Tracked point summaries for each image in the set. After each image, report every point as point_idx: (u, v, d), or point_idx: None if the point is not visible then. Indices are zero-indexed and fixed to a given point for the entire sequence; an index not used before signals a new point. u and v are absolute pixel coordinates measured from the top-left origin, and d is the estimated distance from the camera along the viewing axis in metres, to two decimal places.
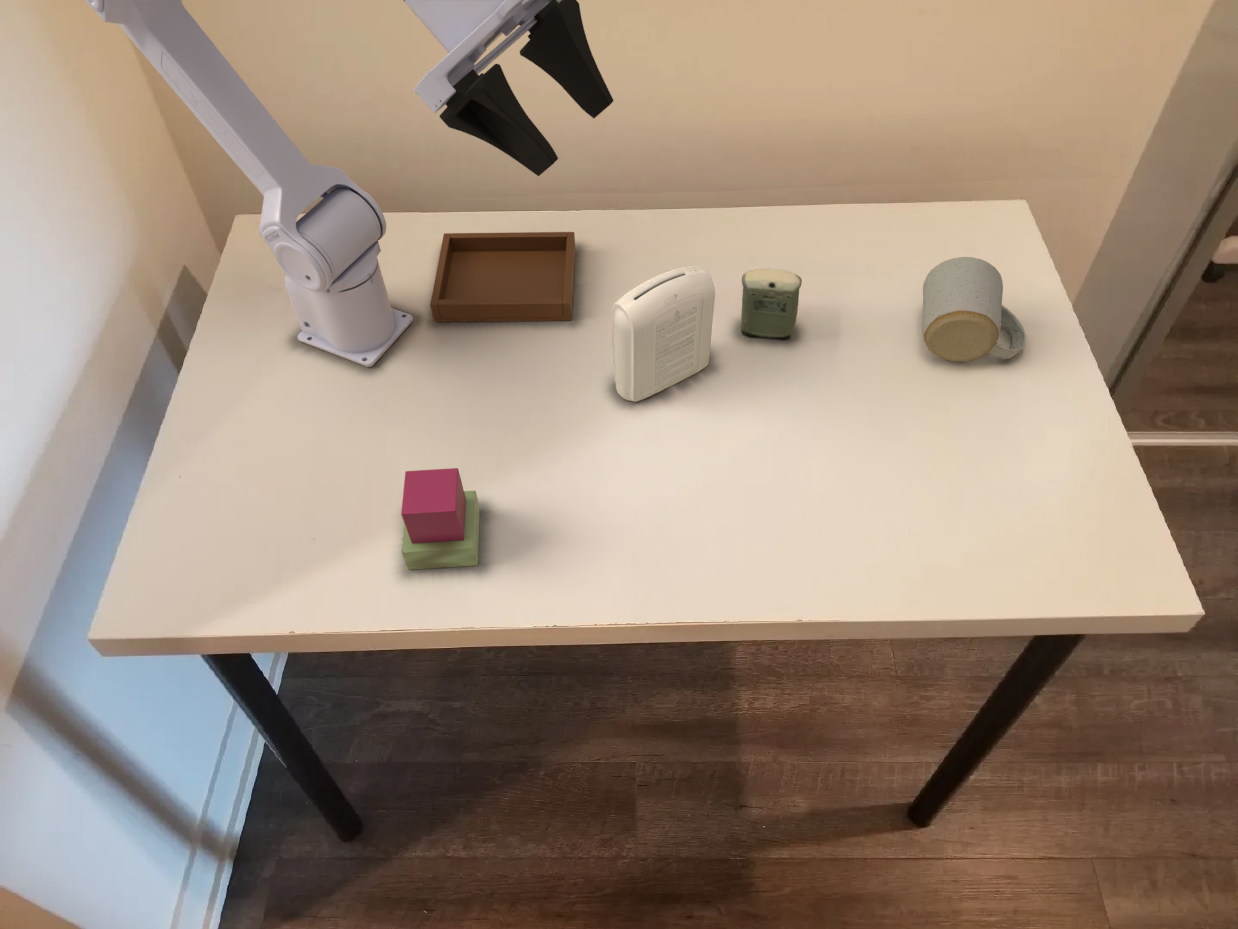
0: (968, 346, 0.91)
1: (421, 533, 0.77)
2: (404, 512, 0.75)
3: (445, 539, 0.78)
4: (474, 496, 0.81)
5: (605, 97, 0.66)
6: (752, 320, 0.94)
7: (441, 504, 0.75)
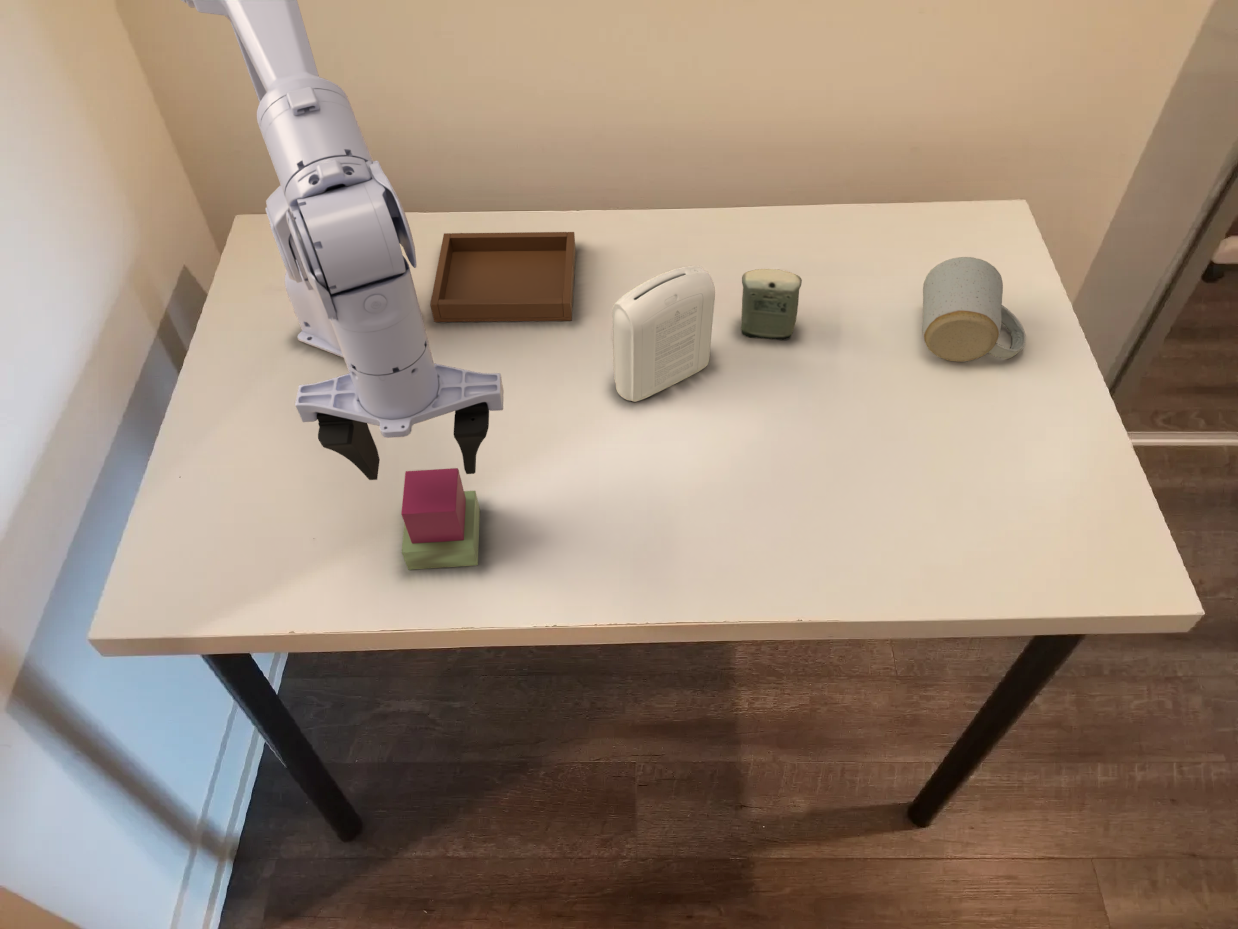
0: (969, 346, 0.91)
1: (421, 533, 0.77)
2: (404, 512, 0.75)
3: (445, 539, 0.78)
4: (474, 496, 0.81)
5: (465, 471, 0.73)
6: (752, 320, 0.94)
7: (441, 504, 0.75)
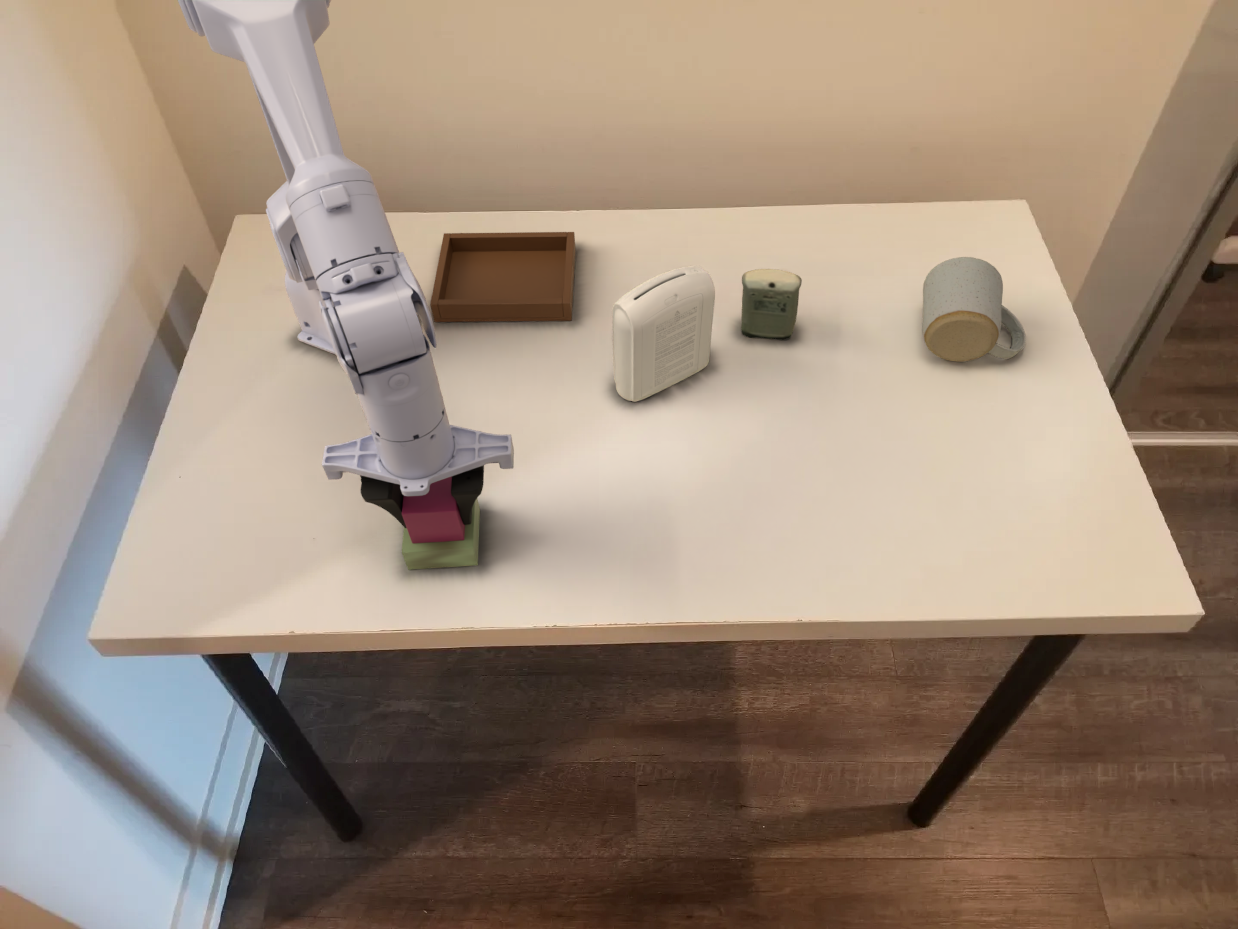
0: (969, 346, 0.91)
1: (421, 533, 0.77)
2: (404, 512, 0.75)
3: (445, 539, 0.78)
4: None
5: None
6: (752, 320, 0.94)
7: (441, 504, 0.75)
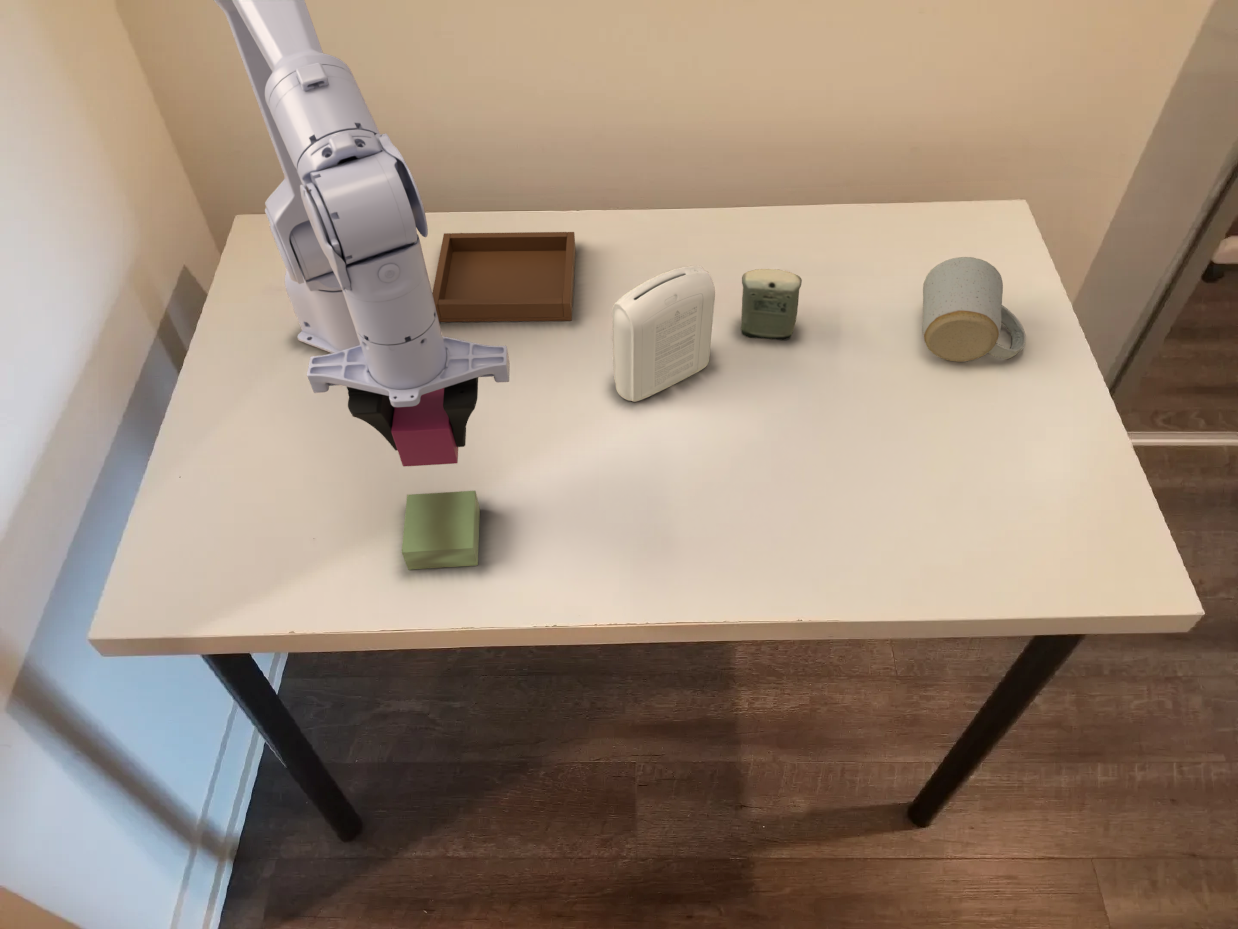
0: (969, 346, 0.91)
1: (412, 454, 0.74)
2: (394, 430, 0.71)
3: (438, 462, 0.74)
4: (474, 496, 0.81)
5: None
6: (752, 320, 0.94)
7: (433, 422, 0.72)
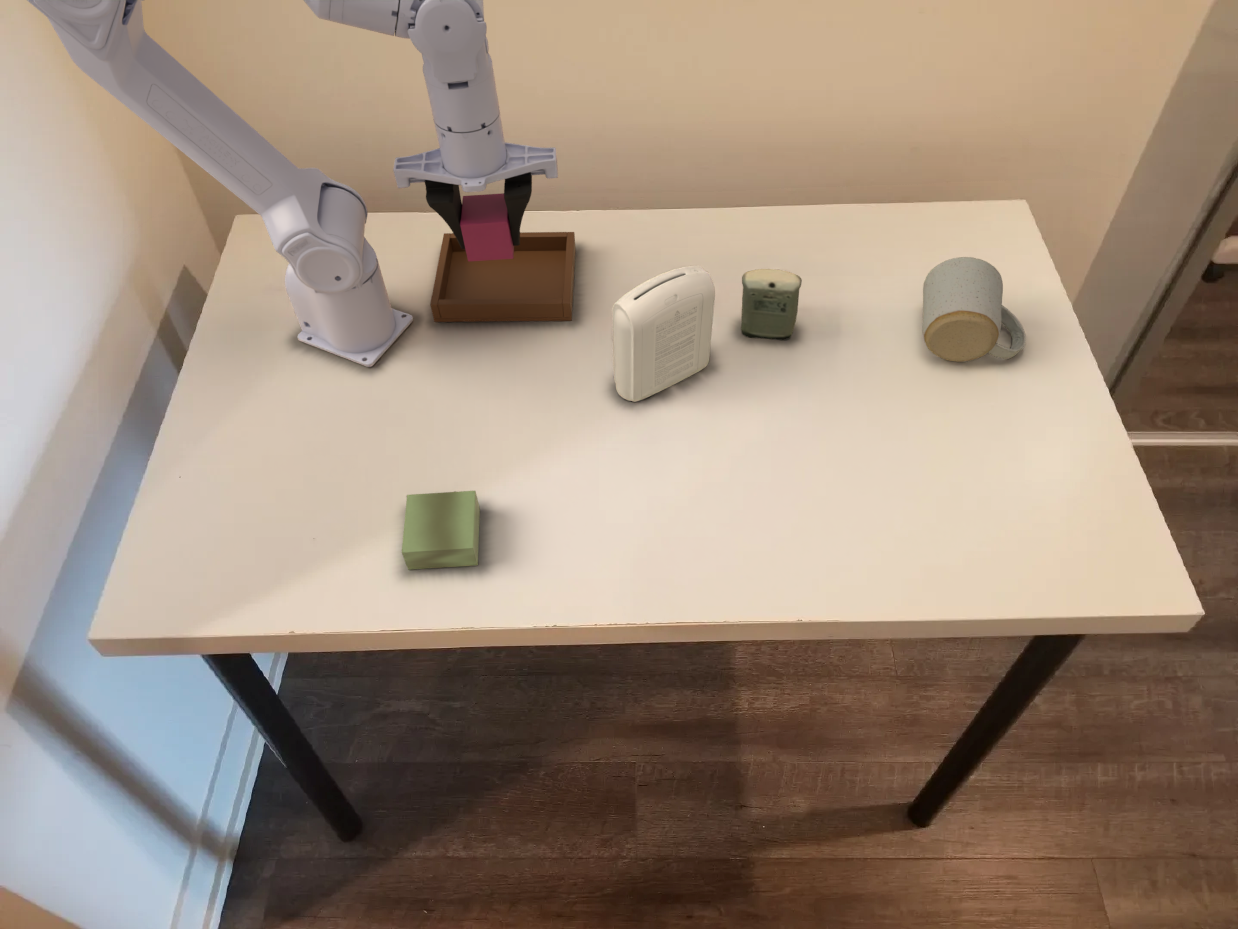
0: (969, 346, 0.91)
1: (476, 249, 0.89)
2: (462, 223, 0.86)
3: (497, 257, 0.89)
4: (474, 496, 0.81)
5: None
6: (752, 320, 0.94)
7: (494, 217, 0.87)
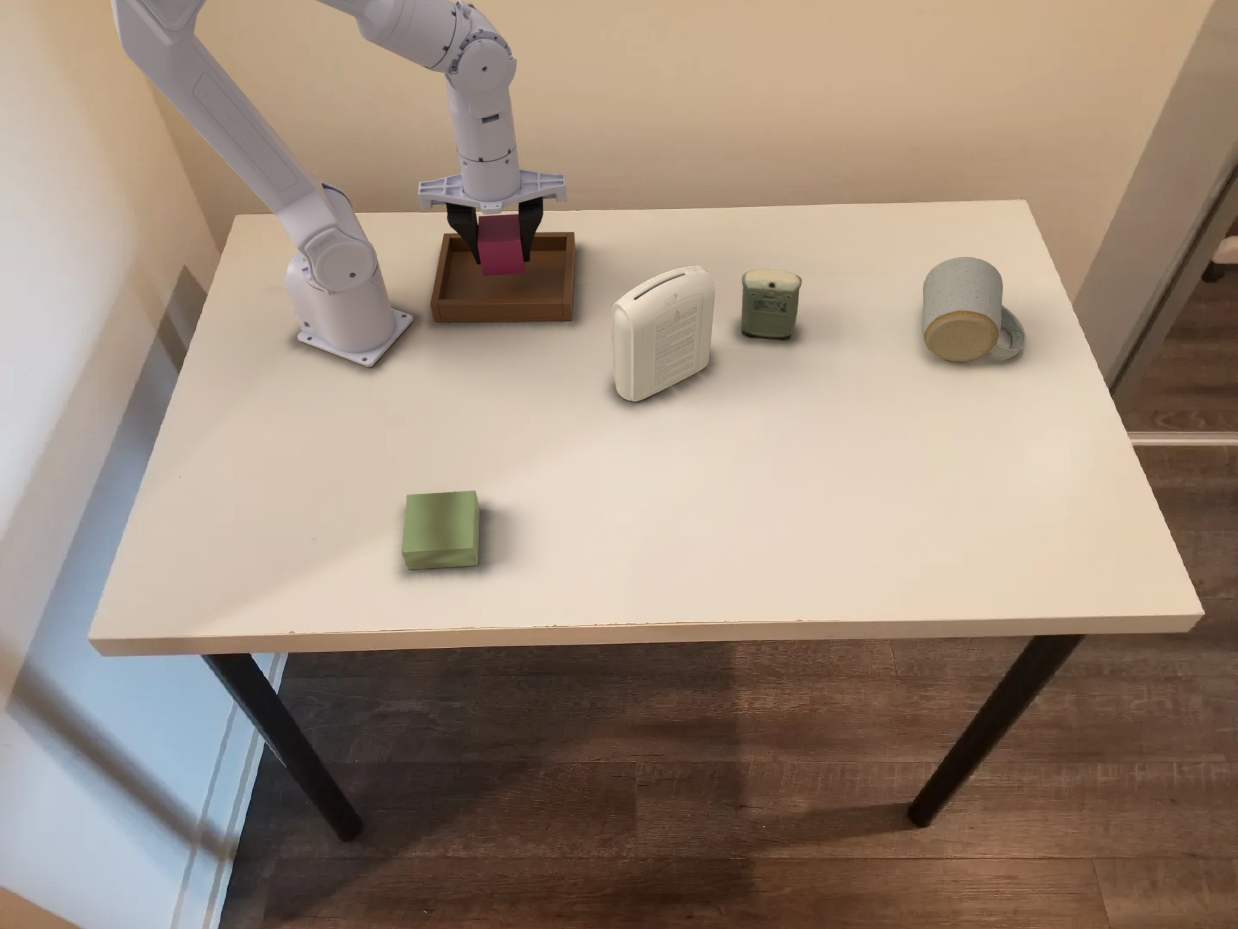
0: (969, 346, 0.91)
1: (491, 264, 0.97)
2: (479, 241, 0.95)
3: (510, 271, 0.98)
4: (474, 496, 0.81)
5: None
6: (752, 320, 0.94)
7: (508, 236, 0.95)
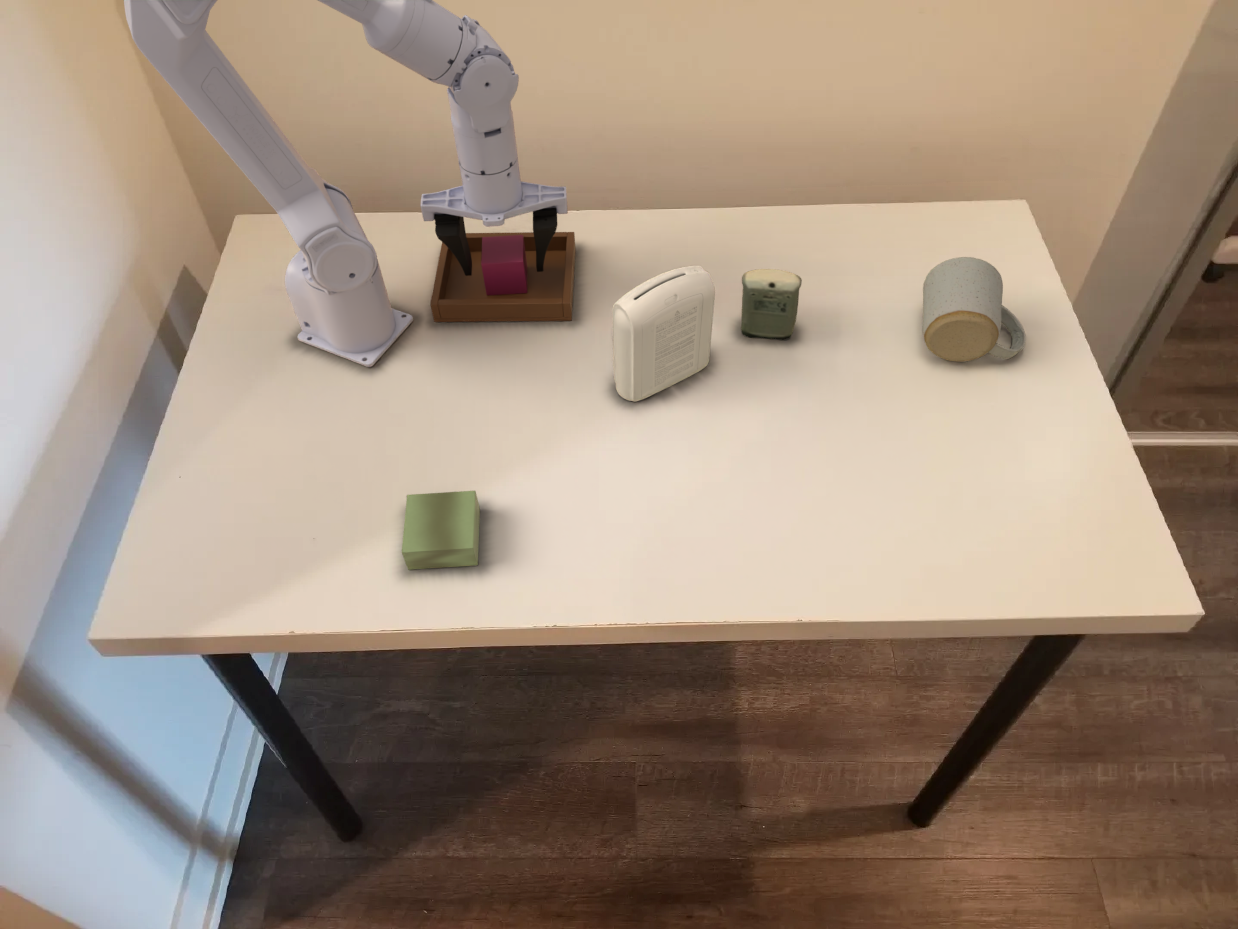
0: (969, 346, 0.91)
1: (494, 284, 0.99)
2: (483, 262, 0.97)
3: (513, 291, 1.00)
4: (474, 496, 0.81)
5: None
6: (752, 320, 0.94)
7: (511, 257, 0.97)
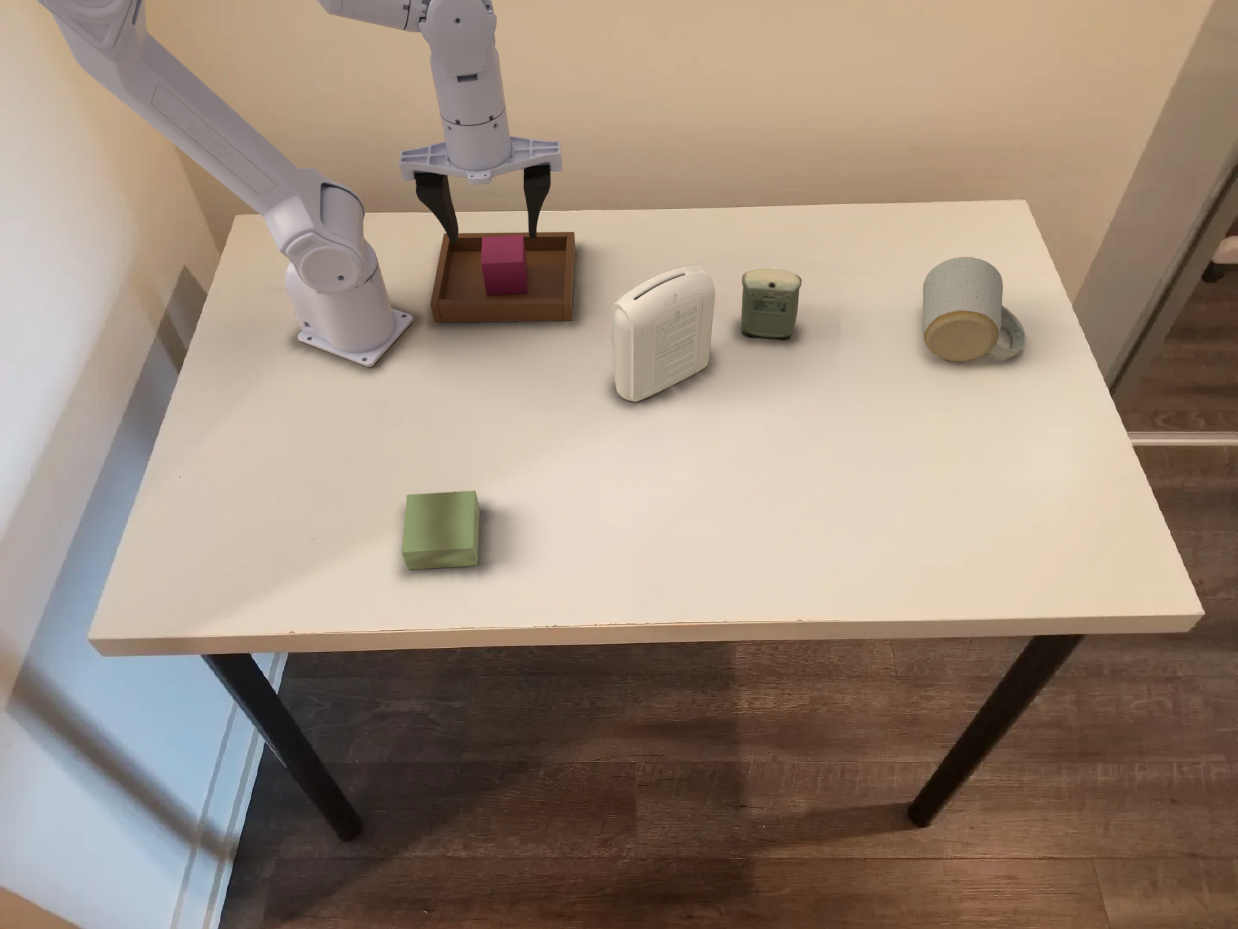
0: (969, 346, 0.91)
1: (494, 284, 0.99)
2: (483, 262, 0.97)
3: (513, 291, 1.00)
4: (474, 496, 0.81)
5: (529, 234, 0.90)
6: (752, 320, 0.94)
7: (511, 257, 0.97)
